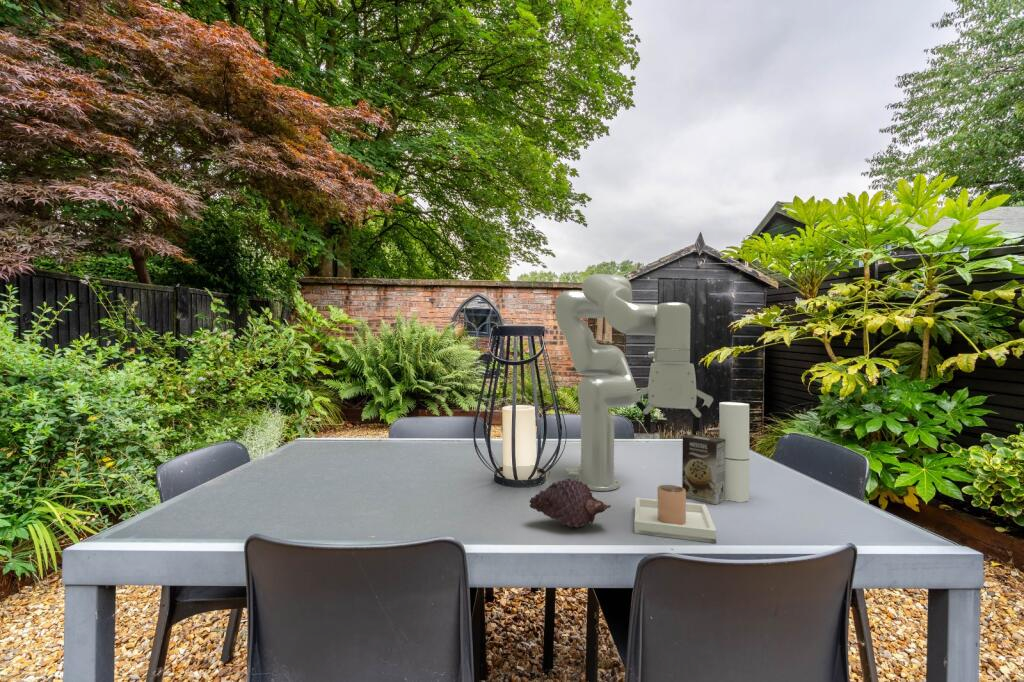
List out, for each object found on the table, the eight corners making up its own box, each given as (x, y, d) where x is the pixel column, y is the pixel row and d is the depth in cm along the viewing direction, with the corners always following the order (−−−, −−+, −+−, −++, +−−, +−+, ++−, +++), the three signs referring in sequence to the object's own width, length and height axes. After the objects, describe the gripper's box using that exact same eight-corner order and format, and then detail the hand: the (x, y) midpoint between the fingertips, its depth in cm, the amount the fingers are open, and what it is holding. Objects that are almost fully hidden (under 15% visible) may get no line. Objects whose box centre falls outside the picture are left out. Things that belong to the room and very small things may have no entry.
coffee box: (681, 496, 118) (681, 436, 118) (691, 491, 123) (691, 433, 123) (716, 505, 111) (716, 441, 112) (725, 499, 116) (725, 438, 116)
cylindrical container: (742, 493, 121) (742, 402, 121) (754, 502, 114) (754, 405, 114) (715, 492, 121) (715, 401, 122) (725, 501, 114) (725, 405, 115)
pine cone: (527, 532, 94) (528, 485, 94) (531, 514, 104) (531, 472, 104) (612, 536, 92) (612, 488, 92) (607, 518, 102) (607, 475, 102)
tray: (634, 533, 94) (634, 521, 94) (635, 507, 109) (635, 497, 109) (716, 543, 89) (716, 530, 89) (705, 515, 105) (705, 504, 105)
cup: (658, 523, 97) (658, 491, 97) (656, 514, 103) (656, 483, 103) (687, 526, 96) (687, 493, 96) (684, 516, 102) (684, 485, 102)
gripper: (632, 356, 99) (631, 432, 99) (716, 358, 94) (715, 438, 94) (633, 355, 106) (631, 427, 106) (711, 357, 101) (710, 432, 101)
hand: (671, 432), depth 100 cm, fingers open, 9 cm apart
